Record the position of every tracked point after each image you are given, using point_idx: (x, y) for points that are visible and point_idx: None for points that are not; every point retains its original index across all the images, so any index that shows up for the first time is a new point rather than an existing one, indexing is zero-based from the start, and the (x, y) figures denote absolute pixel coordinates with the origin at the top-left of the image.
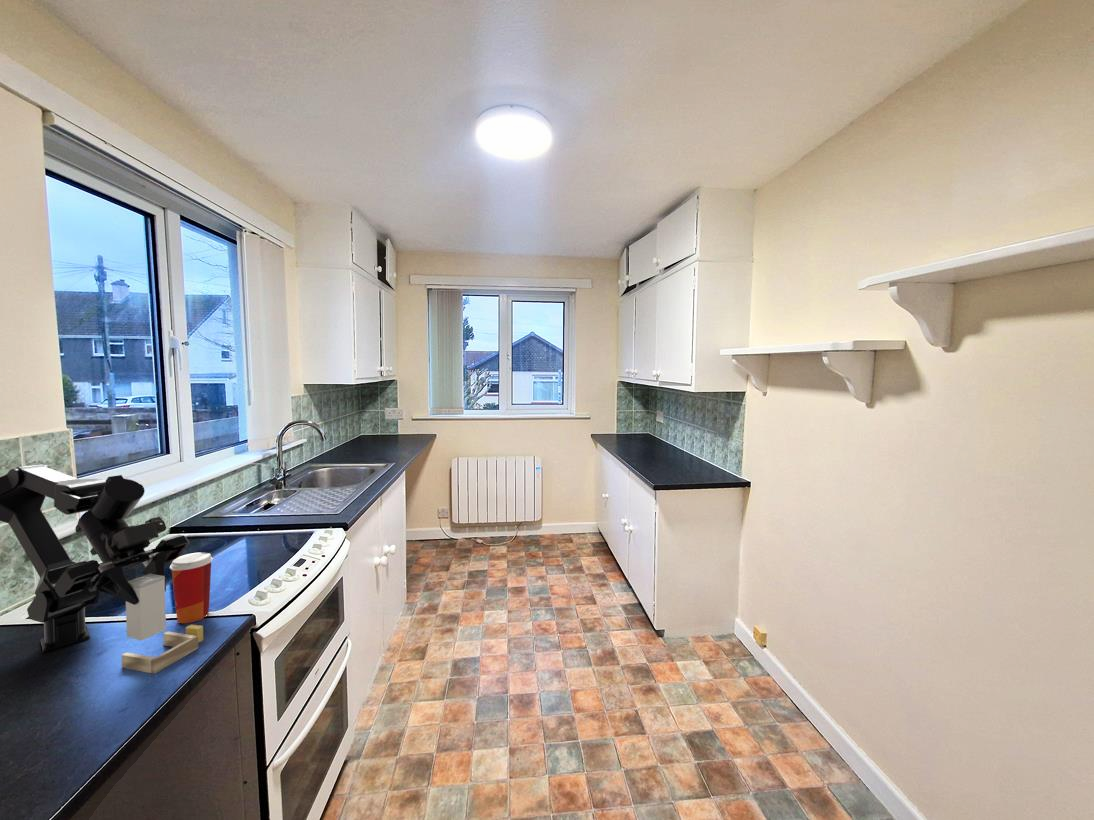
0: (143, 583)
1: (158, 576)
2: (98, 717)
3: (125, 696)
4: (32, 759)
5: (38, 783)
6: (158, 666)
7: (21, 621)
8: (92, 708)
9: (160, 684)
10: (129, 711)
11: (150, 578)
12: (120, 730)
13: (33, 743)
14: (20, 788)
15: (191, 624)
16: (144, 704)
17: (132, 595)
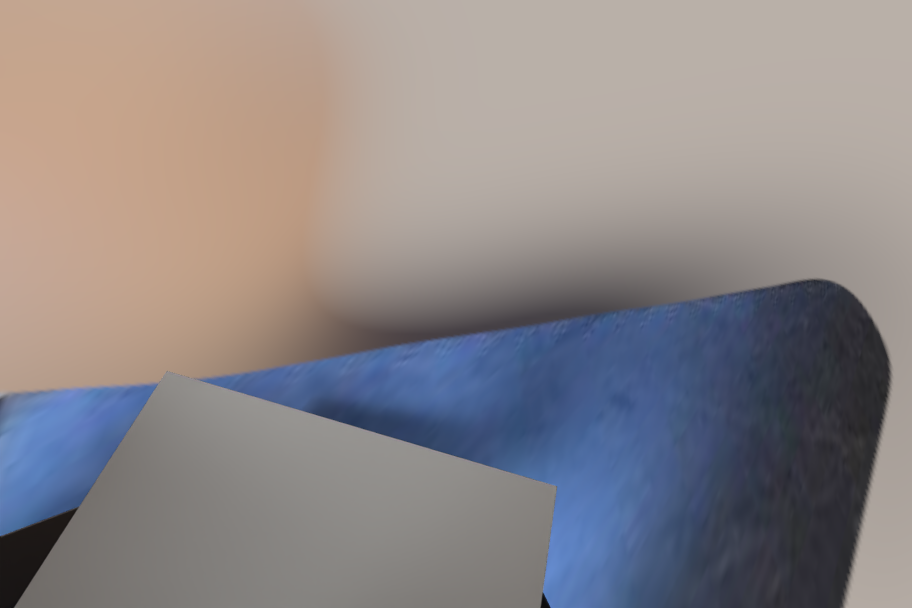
0: (478, 488)
1: (148, 486)
2: (666, 449)
3: (574, 457)
4: (825, 472)
5: (844, 372)
6: None
7: None
8: (644, 517)
9: (505, 391)
10: (624, 378)
11: (234, 576)
12: (681, 337)
13: (800, 546)
14: (869, 398)
15: None
16: (591, 360)
17: (544, 606)
